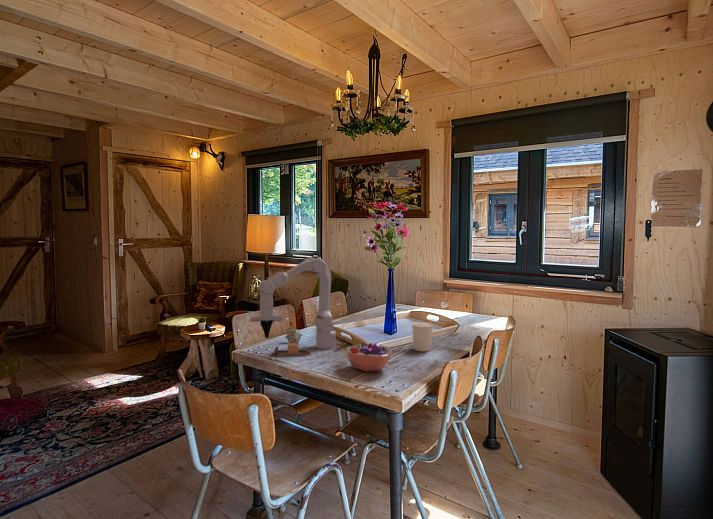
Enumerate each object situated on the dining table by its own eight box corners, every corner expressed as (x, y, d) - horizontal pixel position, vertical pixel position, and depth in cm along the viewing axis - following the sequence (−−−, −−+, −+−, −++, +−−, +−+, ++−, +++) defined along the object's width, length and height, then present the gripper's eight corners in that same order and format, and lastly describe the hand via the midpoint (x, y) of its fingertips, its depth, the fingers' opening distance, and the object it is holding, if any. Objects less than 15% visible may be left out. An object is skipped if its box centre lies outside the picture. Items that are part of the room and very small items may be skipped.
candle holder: (407, 349, 207) (407, 324, 206) (419, 345, 214) (419, 321, 213) (424, 353, 200) (425, 327, 200) (436, 348, 208) (436, 324, 207)
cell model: (359, 360, 190) (359, 334, 189) (399, 368, 178) (400, 341, 178) (336, 370, 176) (336, 343, 175) (378, 380, 164) (378, 351, 164)
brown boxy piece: (311, 353, 198) (311, 346, 198) (310, 357, 193) (310, 349, 192) (275, 354, 197) (275, 346, 197) (274, 358, 191) (274, 350, 191)
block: (298, 352, 197) (298, 342, 197) (297, 355, 193) (297, 345, 192) (288, 352, 197) (288, 342, 197) (287, 355, 192) (287, 345, 192)
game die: (296, 351, 215) (298, 339, 209) (281, 345, 216) (282, 332, 210) (304, 339, 222) (306, 327, 215) (289, 333, 223) (291, 320, 217)
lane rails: (306, 353, 199) (306, 349, 199) (306, 358, 191) (306, 354, 191) (276, 354, 198) (276, 350, 198) (274, 359, 190) (274, 355, 190)
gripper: (248, 309, 188) (249, 339, 189) (282, 308, 189) (282, 339, 190) (251, 306, 195) (251, 335, 196) (283, 305, 196) (283, 335, 197)
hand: (267, 337), depth 193 cm, fingers closed
